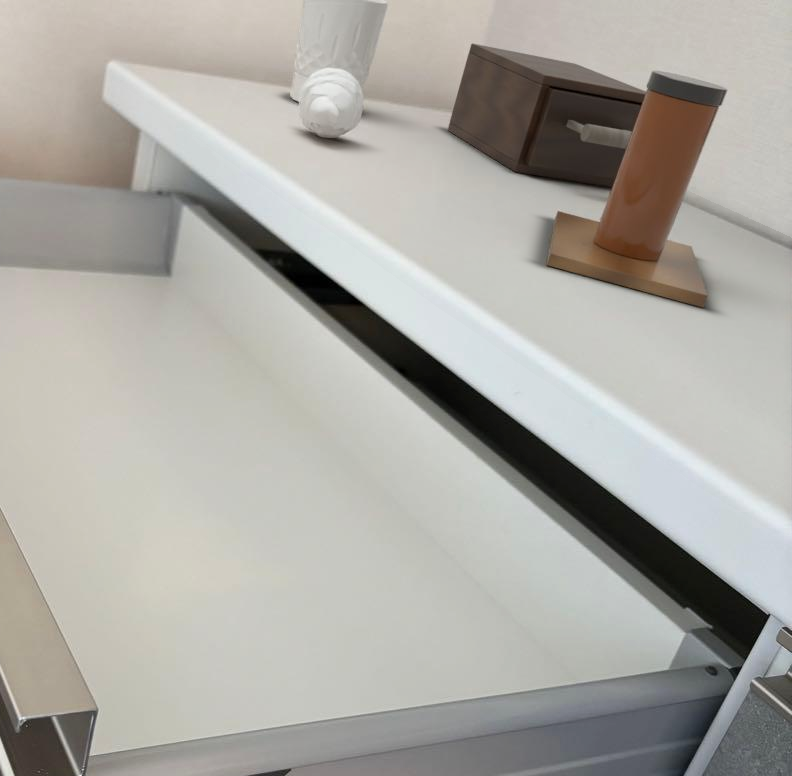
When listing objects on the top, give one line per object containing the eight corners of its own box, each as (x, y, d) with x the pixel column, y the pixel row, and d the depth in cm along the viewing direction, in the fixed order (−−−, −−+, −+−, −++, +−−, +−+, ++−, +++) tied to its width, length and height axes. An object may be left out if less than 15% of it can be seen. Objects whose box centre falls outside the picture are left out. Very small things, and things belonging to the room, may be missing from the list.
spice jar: (659, 250, 77) (724, 85, 71) (662, 267, 72) (731, 92, 67) (591, 232, 77) (650, 67, 72) (591, 247, 73) (653, 74, 68)
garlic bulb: (288, 139, 89) (302, 68, 86) (293, 126, 94) (307, 59, 91) (353, 153, 89) (370, 83, 86) (355, 140, 94) (370, 73, 91)
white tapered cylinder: (269, 95, 106) (291, -19, 101) (308, 92, 112) (330, -15, 107) (340, 117, 103) (366, 1, 98) (375, 113, 109) (401, 4, 104)
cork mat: (687, 256, 81) (691, 246, 80) (702, 307, 69) (708, 295, 68) (554, 221, 82) (557, 210, 82) (546, 265, 70) (550, 253, 70)
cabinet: (626, 189, 100) (660, 96, 96) (514, 172, 96) (544, 74, 92) (548, 147, 113) (575, 63, 108) (447, 130, 109) (471, 43, 105)
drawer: (656, 196, 95) (685, 121, 92) (552, 179, 92) (578, 101, 89) (556, 142, 110) (578, 76, 107) (464, 127, 107) (483, 58, 104)
